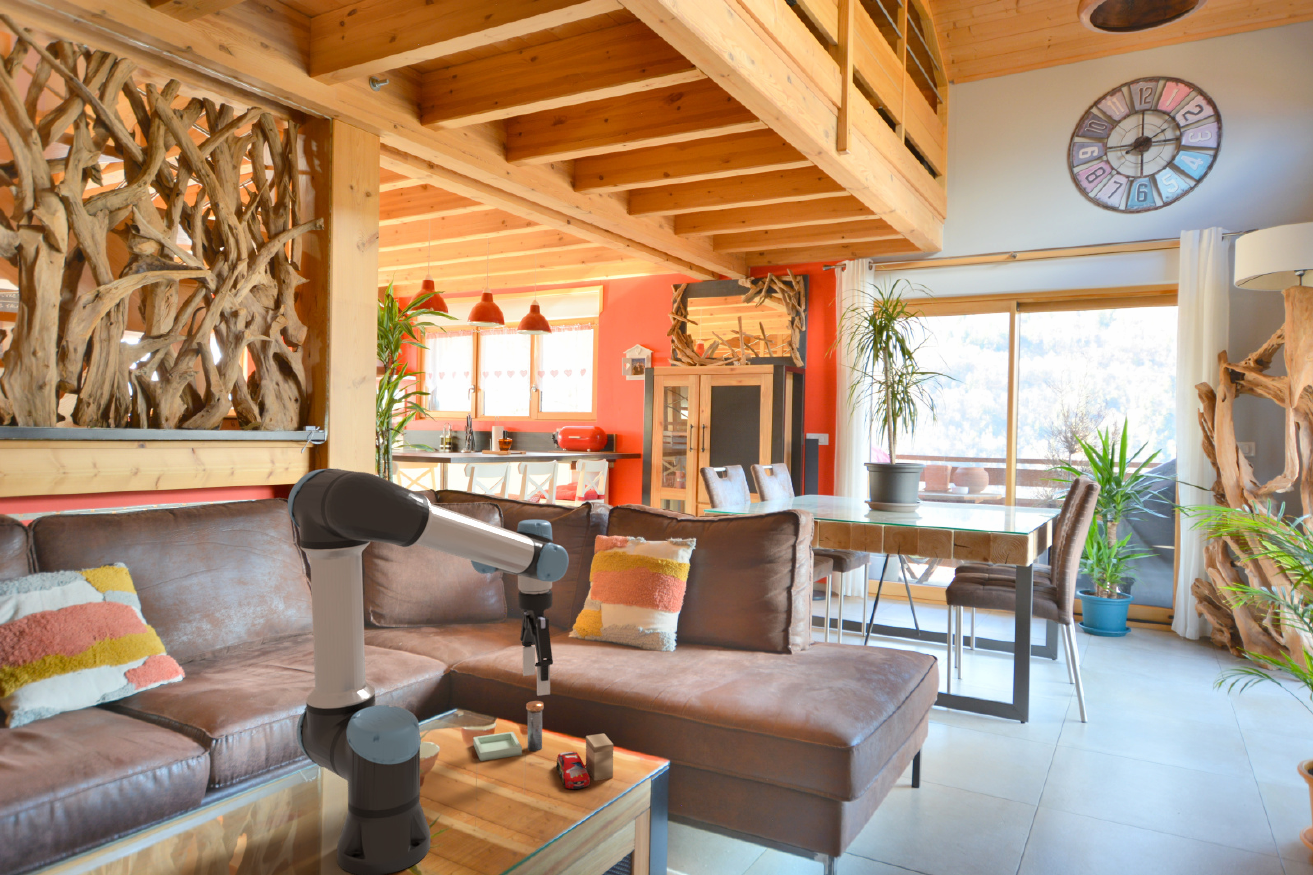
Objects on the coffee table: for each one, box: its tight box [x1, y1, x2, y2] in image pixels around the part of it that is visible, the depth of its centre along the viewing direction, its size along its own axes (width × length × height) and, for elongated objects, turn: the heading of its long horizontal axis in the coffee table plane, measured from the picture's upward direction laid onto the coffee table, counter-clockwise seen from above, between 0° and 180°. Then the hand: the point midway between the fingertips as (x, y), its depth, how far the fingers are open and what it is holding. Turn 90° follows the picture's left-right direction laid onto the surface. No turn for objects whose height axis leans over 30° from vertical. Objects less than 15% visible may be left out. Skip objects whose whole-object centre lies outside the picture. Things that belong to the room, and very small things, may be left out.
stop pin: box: [525, 700, 545, 752], centre depth 184 cm, size 4×4×10 cm
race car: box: [556, 751, 591, 790], centre depth 170 cm, size 13×5×4 cm, turn 16°
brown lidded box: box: [585, 733, 615, 781], centre depth 172 cm, size 4×6×7 cm
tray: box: [472, 731, 523, 762], centre depth 183 cm, size 9×9×2 cm
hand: (536, 684), depth 184 cm, fingers open, 13 cm apart
